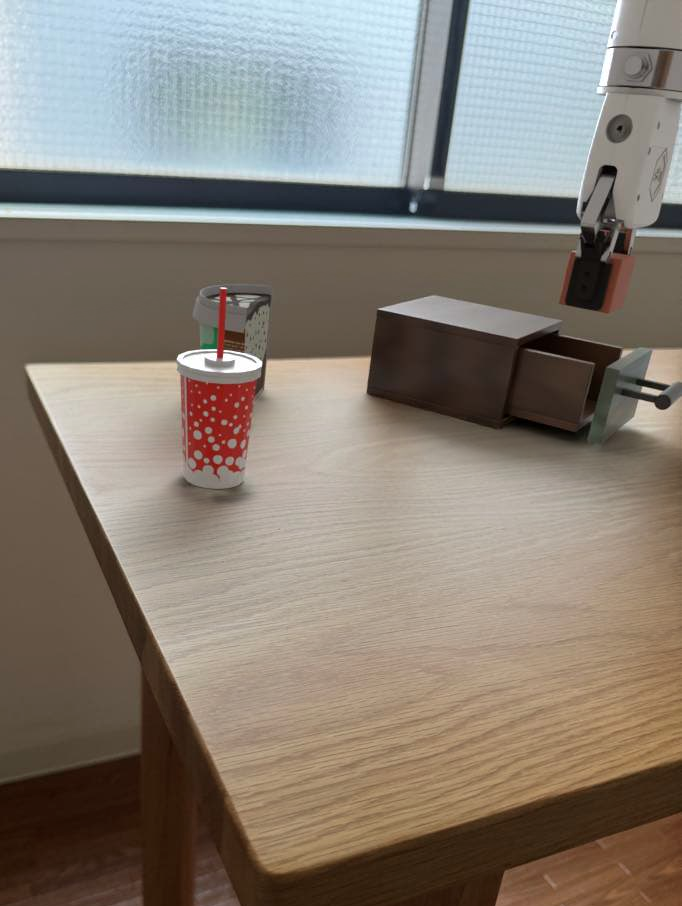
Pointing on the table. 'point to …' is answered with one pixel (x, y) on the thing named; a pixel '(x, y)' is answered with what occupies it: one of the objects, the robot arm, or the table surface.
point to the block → (615, 285)
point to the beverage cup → (216, 411)
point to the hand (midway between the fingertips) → (592, 302)
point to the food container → (238, 321)
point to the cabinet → (451, 356)
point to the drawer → (582, 385)
